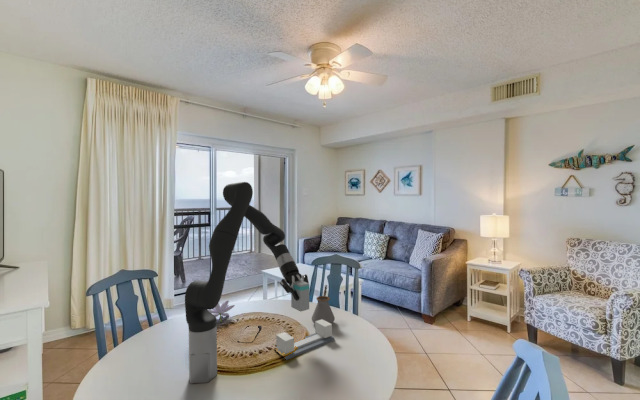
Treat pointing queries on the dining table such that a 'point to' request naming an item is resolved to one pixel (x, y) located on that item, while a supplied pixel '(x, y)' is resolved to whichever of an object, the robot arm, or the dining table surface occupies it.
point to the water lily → (221, 310)
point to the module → (301, 296)
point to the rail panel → (305, 340)
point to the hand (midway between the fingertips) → (302, 298)
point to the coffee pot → (323, 309)
